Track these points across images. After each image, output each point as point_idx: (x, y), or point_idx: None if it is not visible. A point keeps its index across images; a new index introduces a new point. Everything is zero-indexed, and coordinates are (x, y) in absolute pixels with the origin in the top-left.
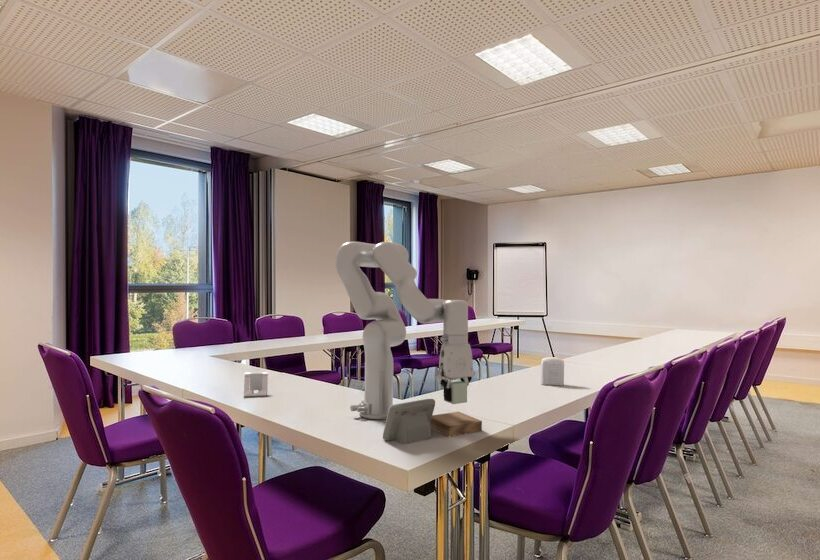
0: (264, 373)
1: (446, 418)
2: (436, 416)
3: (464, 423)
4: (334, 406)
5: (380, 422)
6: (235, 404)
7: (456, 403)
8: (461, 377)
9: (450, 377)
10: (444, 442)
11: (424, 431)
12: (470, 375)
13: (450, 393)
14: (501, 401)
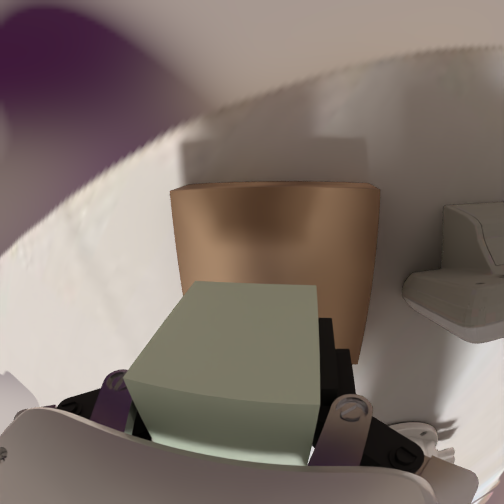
0: None
1: None
2: None
3: (276, 192)
4: None
5: (436, 406)
6: (486, 488)
7: (288, 286)
8: (171, 448)
9: (390, 476)
10: (423, 135)
11: (483, 210)
12: (48, 411)
13: (329, 355)
14: (43, 373)
